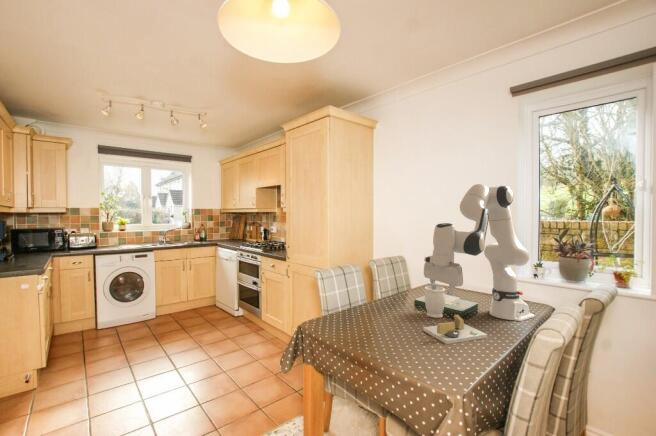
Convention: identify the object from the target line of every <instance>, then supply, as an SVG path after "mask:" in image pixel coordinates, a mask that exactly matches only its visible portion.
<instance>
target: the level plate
mask: <svg viewBox="0 0 656 436" xmlns="http://www.w3.org/2000/svg"><path fill="white" fill-rule="evenodd" d="M455 330H457V331H458V332H459V337H457V338H452V337H448V336H445V335H444V334H438V333H437V324H436V325H431V326H423V327H422V331H424V332H425V333H427V334H428V335H430V336H431V337H433V338H435V339H436V340H439V341H440V342H442V343H444V344H446V345H451V344H452V345H453V344H457V343H463V342H470V341H476V340H482V339H487V338H488V333H486V332H483V331H481V330H479V329H476V328H475V327H473V326H471V325H468V324H467V323H466V324H465V323H464V329H455Z"/></svg>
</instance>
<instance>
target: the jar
mask: <svg viewBox="0 0 656 436" xmlns="http://www.w3.org/2000/svg"><path fill="white" fill-rule="evenodd" d="M436 286H437V285H436ZM424 290H425V293H424V303H425V309H426V316H428V317H430V318H434V319H440V318H442V317H443V316H444V315H443V312H444V309H445V304H446V295H445V292H446V287H442V286H439V285H438V286H437V290H433V289H432V285H428V286H425V287H424Z"/></svg>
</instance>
